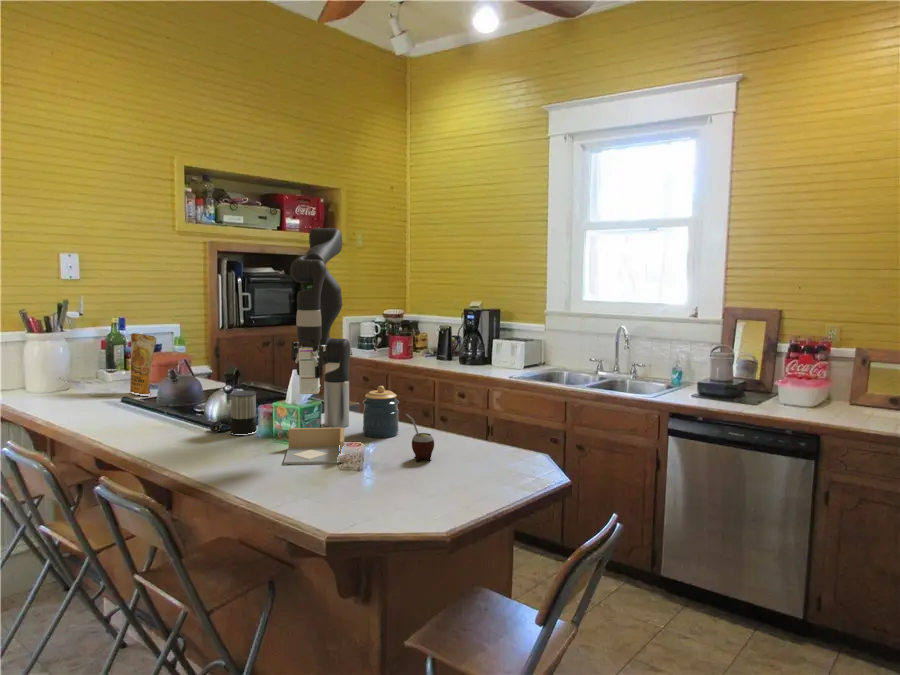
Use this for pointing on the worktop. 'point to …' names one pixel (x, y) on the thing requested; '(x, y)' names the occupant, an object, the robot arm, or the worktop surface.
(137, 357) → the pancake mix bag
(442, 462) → the worktop surface
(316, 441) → the corner arena
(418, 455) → the mate gourd
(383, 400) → the canister
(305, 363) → the syrup box
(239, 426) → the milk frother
